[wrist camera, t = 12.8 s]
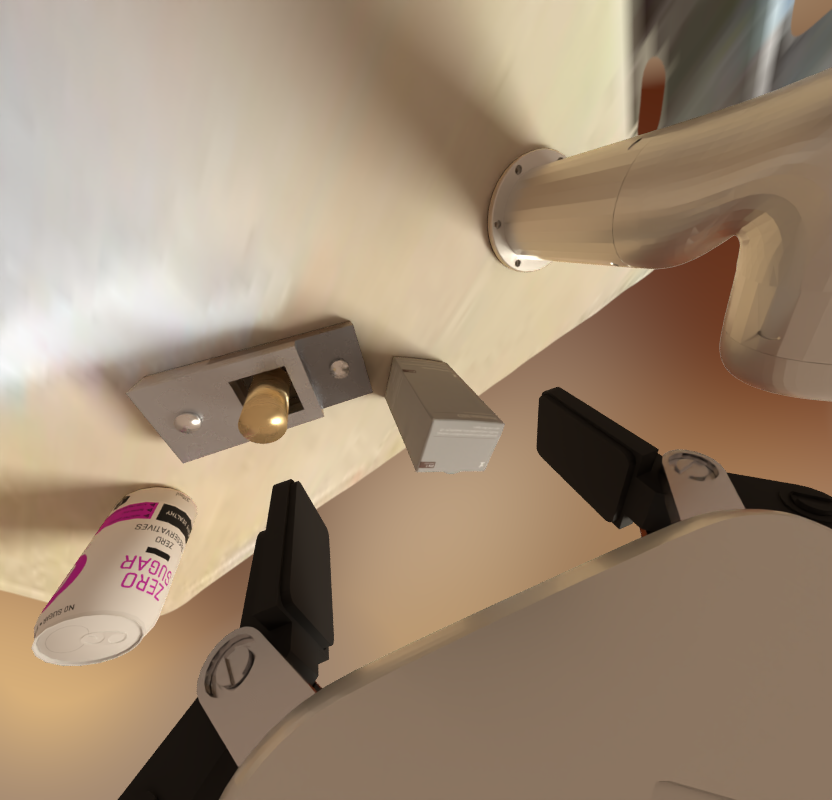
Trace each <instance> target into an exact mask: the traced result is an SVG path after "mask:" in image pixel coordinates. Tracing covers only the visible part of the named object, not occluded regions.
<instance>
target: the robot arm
mask: <svg viewBox="0 0 832 800" xmlns="http://www.w3.org/2000/svg"><path fill="white" fill-rule="evenodd" d="M488 232H489V239H490V243H491V246H492V249H493V251H494V253H495V254H496V256H497V258H498V259H499V260H500V261H501V262H502V264H504V265H505V266H507V267H508V268H509V269H512V270H515V271H520V272H533V271H536V270H540V269H542V268H544V267H546V266H547V265H549V264H550V263H551V262H552V261H557V262H569V263H581V264H593V265H605V266H618V267H630V268H645V269H662V268H669V267H674V266H678V265H681V264H684V263H686V262H689V261H691V260H693V259H696V258H697V257H699V256H701V255H703V254H705V253H706V252H708V251H710V250H712V249H713V248H715V247H716V246H718V245H720V244H721V243H723V242H724V241H726V240H727V239H729V238H730V237H732V236H733V235H736V236H737V237H738V238H739V241H740V250H739V256H738V261H737V270H736V274H735V278H734V282H733V286H732V290H731V294H730V298H729V302H728V306H727V311H726V314H725V318H724V324H723V328H722V333H721V339H720V355H721V360H722V362H723V364H724V366H725V367H726V369H727V370H728V371H729V372H730V373H731V374H732V375H733V376H734V377H736V378H737V379H739V380H741V381H743V382H744V383H746V384H748V385H751V386H753V387H756V388H759V389H762V390H765V391H768V392H772V393H776V394H781V395H786V396H791V397H797V398H804V399H813V400H823V401H832V67H831V68H829V69H827V70H824V71H822V72H820V73H817V74H815V75H812V76H810V77H807V78H805V79H802V80H800V81H797V82H795V83H792V84H790V85H787V86H785V87H783V88H780V89H778V90H775V91H772V92H769V93H767V94H764V95H761V96H758V97H756V98H753V99H750V100H747V101H745V102H742V103H739V104H736V105H733V106H730V107H727V108H724V109H721V110H718V111H715V112H712V113H709V114H706V115H703V116H700V117H696V118H693V119H690V120H687V121H684V122H680V123H677V124H674V125H671V126H668V127H665V128H662V129H659V130H655V131H652V132H649V133H646V134H642V135H639V136H636V137H633V138H629V139H626V140H623V141H620V142H616V143H613V144H610V145H607V146H603V147H600V148H597V149H594V150H590V151H587V152H584V153H581V154H577V155H574V156H571V157H568V158H567V157H566V156H565V155H563V154H562V153H560V152H559V151H557V150H553V149H550V148H540V149H537V150H533V151H530V152H528V153H526V154H524V155H522V156H520V157H519V158H518V159H516V160H515V161H514V162H512V164H511V165H510V166H509V167H508V168H507V169H506V170H505V172H504V173H503V175H502V176H501V178H500V179H499V181H498V183H497V185H496V188H495V190H494V192H493V195H492V199H491V202H490V206H489V213H488ZM537 432H538V433H537V451H538V453H539V455H540V456H541V457H542V458H543V459H544V460H545V461H546V462H547V463H548V464H549V465H550V466H551V467H552V468H553V469H554V470H555V471H556V472H557V473H558V474H559V475H560V476H561V477H562V478H563V479H564V480H565V481H566V482H567V483H568V484H569V485H570V486H571V487H572V488H573V489H574V490H576V492H577V493H578V494H579V495H581V496H582V498H583V499H584V500H585V501H586V502H588V503H589V504H590V505H591V506H592V507H593V508H594V509H595V510H596V511H597V512H598V513H599V514H600V515H601V516H602V517H603V518H604V519H605V520H606V521H608V522H612V523H613V524H614V525H615V526H616V527H617V528H619V529H621V528H623V527H626V526H628V525H630V524H632V523H633V522H634V523H635V524H636V525H637V526H639V528H640V533H641V538H639V539H637V540H635V541H632V542H630V543H628V544H626V545H623V546H621V547H619V548H617V549H615V550H612V551H610V552H608V553H606V554H604V555H601V556H599V557H597V558H595V559H593V560H590V561H588V562H586V563H584V564H582V565H579V566H577V567H575V568H573V569H570V570H568V571H566V572H564V573H562V574H559V575H557V576H555V577H553V578H551V579H549V580H546V581H545V582H542V583H540V584H538V585H536V586H533V587H531V588H529V589H527V590H525V591H523V592H520V593H518V594H516V595H514V596H511V597H509V598H507V599H505V600H503V601H501V602H498V603H497V604H494V605H492V606H490V607H488V608H486V609H483V610H481V611H479V612H477V613H475V614H472V615H471V616H468V617H466V618H464V619H462V620H460V621H457V622H455V623H453V624H451V625H449V626H447V627H445V628H442V629H440V630H438V631H436V632H434V633H432V634H429V635H427V636H425V637H423V638H421V639H419V640H417V641H415V642H412V643H410V644H408V645H406V646H404V647H402V648H400V649H398V650H396V651H394V652H392V653H389V654H388V655H385V656H384V657H381V658H379V659H377V660H375V661H373V662H371V663H369V664H367V665H365V666H363V667H361V668H359V669H357V670H355V671H353V672H351V673H349V674H347V675H346V676H344V677H342V678H340V679H338V680H336V681H335V682H333V683H331V684H329V685H327V686H326V687H324V688H322V687H321V686H320V685H319V684H318V683H317V682H316V681H315V680H316V679H317V677H318V664H320V663H322V662H324V661H326V660H329V648H328V647H329V646H332V645H333V642H334V632H333V610H332V589H331V568H330V548H329V534H328V530H327V528H326V526H325V524H324V522H323V521H322V519H321V517H320V515H319V514H318V512H317V510H316V508H315V507H314V505H313V503H312V502H311V500H310V498H309V497H308V495H307V493H306V491H305V490H304V488H303V486H302V485H301V483H300V482H299V481H297V482H294V481H293V480H292V479H290V480H287V481H284V482H281V483H278V484H276V485H274V486H273V489H272V495H271V501H270V507H269V513H268V519H267V526H266V530H265V531H262V532H260V533H259V534H258V536H257V540H256V545H255V550H254V555H253V561H252V566H251V571H250V577H249V582H248V587H247V592H246V598H245V603H244V609H243V614H242V619H241V625H240V628H239V629H236V630H234V631H233V632H231V633H230V634H228V635H227V636H225V637H224V638H223V639H222V640H221V641H220V642H219V643H218V644H217V645H216V646H215V648H214V649H213V650H212V652H211V653H210V654H209V655H208V657H207V659H206V661H205V663H204V665H203V667H202V669H201V672H200V675H199V678H198V682H197V695H198V697H197V699H196V700H195V701H194V703H193V704H192V705H191V706H190V708H189V709H188V710H187V711H186V713H185V714H184V715H183V717H182V718H181V719H180V720H179V722H178V723H177V724H176V726H175V727H174V728H173V729H172V731H171V732H170V733H169V735H168V736H167V737H166V738H165V740H164V741H163V742H162V744H161V745H160V746H159V747H158V749H157V750H156V751H155V753H154V754H153V755H152V757H151V758H150V759H149V760H148V762H147V763H146V764H145V765H144V767H143V768H142V769H141V771H140V772H139V773H138V774H137V776H136V777H135V778H134V780H133V781H132V782H131V784H130V785H129V786H128V787H127V788H126V790H125V791H124V793H123V794H122V795H121V796H120V797H119V799H118V800H832V497H831V496H829V495H827V494H825V493H823V492H820V491H817V490H814V489H812V488H809V487H805V486H800V485H796V484H789V483H784V482H778V481H772V480H766V479H760V478H755V477H749V476H743V475H737V474H732V473H726V471H725V470H724V468H723V467H722V466H721V465H720V464H719V463H718V462H716V461H715V460H714V459H712V458H710V457H708V456H706V455H704V454H701V453H698V452H695V451H689V450H672V451H669V452H667V453H665V454H664V455H663V456H661V455H660V454H658V449H657V448H656V447H654V446H652V445H651V444H649V443H648V442H646V441H644V440H643V439H641V438H640V437H638V436H636V435H635V434H633V433H632V432H630V431H628V430H627V429H625V428H624V427H622V426H620V425H619V424H617V423H616V422H614V421H612V420H611V419H609V418H608V417H606V416H605V415H603V414H601V413H600V412H598V411H597V410H595V409H593V408H592V407H590V406H589V405H587V404H586V403H584V402H582V401H581V400H579V399H577V398H576V397H574V396H573V395H571V394H569V393H568V392H566V391H565V390H563V389H562V388H559V387H556V388H553V389H550V390H547V391H544V392H543V393H542V396H541V397H540V398H539V410H538V429H537Z"/></svg>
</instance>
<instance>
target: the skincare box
mask: <svg viewBox="0 0 832 800" xmlns="http://www.w3.org/2000/svg"><path fill="white" fill-rule="evenodd" d="M385 399H386V401H387V404H388V406H389V408H390V411H391V413H392V415H393V418H394V420H395V422H396V425H397V427H398V429H399V432H400V434H401V436H402V439H403V441H404V443H405V446H406V448H407V450H408V453H409V455H410V458H411V460H412V463H413V465H414V468H415V470H416V472H439V471H443V472H446V473H448V474H454V473H458V472H460V471H484V470H485V469H486V467H487V464H488V462H489V459H490V457H491V455H492V453H493V450H494V448H495V446H496V444H497V442H498V440H499V438H500V436H501V433H502V431H503V428H504V425H505V424H504V423H503V422H502V421H501V420H500V419H499V418H498V417H497V416H496V415H495V413H494V412H493V411H492V410H491V409H490V408H489V407H488V406H487V405H486V404H485V403H484V402H483V401H482V400H481V399H480V398H479V397H478V396H477V395H476V393H475V392H474V391H473V390H472V389H471V388H470V387H469V386H468V385H467V384H466V383H465V382H464V381H463V380H462V379H461V378H460V377H459V376H458V375H457V374H456V372H455V371H454V370H453V369H452V368H451V367H450V366H449V365H448V364H447V363H445V362H438V361H431V360H424V359H416V358H406V357H393V361H392V366H391V371H390V375H389V380H388V384H387V389H386V394H385Z"/></svg>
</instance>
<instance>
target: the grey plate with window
mask: <svg viewBox="0 0 832 800" xmlns="http://www.w3.org/2000/svg"><path fill="white" fill-rule="evenodd" d="M282 366H285V368H286V370H287V372H288V374H289V377H290V379H291V381H292V383H293V385H294V388H295V390H296V392H297V394H298V396H297V397H294V398H291V399H289V408H288V423H287V429H288V428H291V427H294V426H297V425H300V424H303V423H306V422H309V421H312V420H315V419H318V418H321V417H324V412H323V408H326V407H329V406H332V405H335V404H338V403H342V402H345V401H348V400H351V399H354V398H357V397H360V396H363V395H366V394H369V393H372V392H373V391H372V388H371V384H370V381H369V377H368V374H367V371H366V367H365V364H364V361H363V357H362V354H361V350H360V347H359V344H358V340H357V337H356V334H355V330H354V327H353V324H352V323H351V321H347V322H344V323H340V324H336V325H333V326H329V327H325V328H322V329H318V330H314V331H311V332H307V333H303V334H300V335H296V336H292V337H289V338H285V339H281V340H278V341H274V342H270V343H266V344H263V345H259V346H255V347H252V348H248V349H244V350H241V351H237V352H233V353H230V354H226V355H222V356H219V357H215V358H211V359H208V360H204V361H200V362H197V363H193V364H189V365H186V366H182V367H178V368H174V369H171V370H167V371H163V372H160V373H156V374H152V375H149V376H145V377H143V378H142V379H141V380H140V381H139V382H138V383H137V384H136V385H134V386H133V387H132V388H131V389H130V390H129V391H128V392H126V395H127V396H128V397H129V398H130V399H131V401H132V402H133V403H134V404H135V406H136V407H137V408H138V409H139V410H140V412H141V413H142V414H143V415H144V417H145V418H146V419H147V420H148V421H149V423H150V424H151V425H152V426H153V428H154V429H155V430H156V431H157V432H158V434H159V435H160V436H161V437H162V438H163V440H164V441H165V442H166V443H167V445H168V446H169V447H170V448H171V449H172V451H173V452H174V453H175V454H176V456H177V457H178V458H179V459H180V460H181V462H182V463H186V462H189V461H192V460H195V459H198V458H201V457H204V456H207V455H210V454H213V453H216V452H219V451H222V450H225V449H228V448H231V447H234V446H237V445H240V444H243V443H246V442H249V440H247V439H246V438H245V437H243V436H242V434H241V433H240V431H239V429H238V421H239V418H240V415H241V412H242V409H243V406H244V403H245V400H246V397H247V394H248V390H247V388H246V386H245V384H244V382H243V381H242V379H241V378H245V377H248V376H251V375H255V374H258V373H262V372H265V371H269V370H272V369H276V368H279V367H282Z"/></svg>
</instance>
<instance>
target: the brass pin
mask: <svg viewBox="0 0 832 800" xmlns="http://www.w3.org/2000/svg"><path fill="white" fill-rule="evenodd" d="M289 394H290V378H289V376H288V374H287V373H286V372H285V371H284V370H283V369H281V368H276V369H272V370H269V371H265V372H262V373H258V374H255V375H254V377H253V380H252V383H251V386H250V388H249V391H248V394H247V397H246V400H245V403H244V406H243V409H242V412H241V415H240V418H239V421H238V429H239V431H240V433H241V434H242V436H243V437H245V438H246V439H247V440H249V441H251V442H254V443H260V444H266V443H271V442H274V441H276V440H278V439H280V438H281V437H282V436H283V435H284V434H285V432H286V430H287V423H288V408H289Z"/></svg>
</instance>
